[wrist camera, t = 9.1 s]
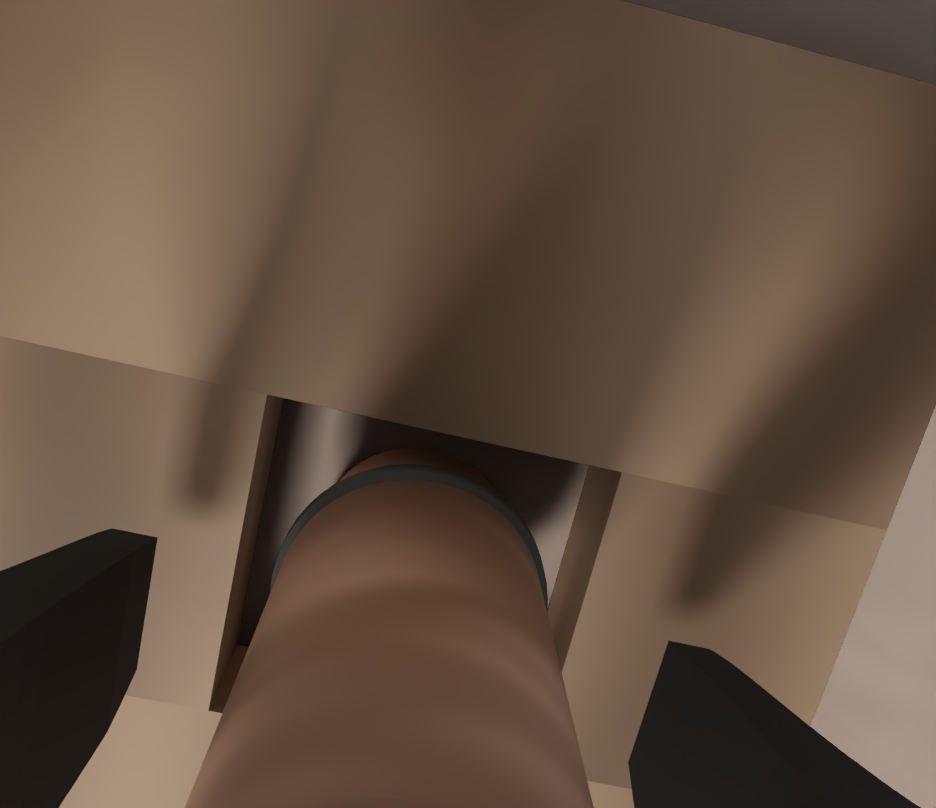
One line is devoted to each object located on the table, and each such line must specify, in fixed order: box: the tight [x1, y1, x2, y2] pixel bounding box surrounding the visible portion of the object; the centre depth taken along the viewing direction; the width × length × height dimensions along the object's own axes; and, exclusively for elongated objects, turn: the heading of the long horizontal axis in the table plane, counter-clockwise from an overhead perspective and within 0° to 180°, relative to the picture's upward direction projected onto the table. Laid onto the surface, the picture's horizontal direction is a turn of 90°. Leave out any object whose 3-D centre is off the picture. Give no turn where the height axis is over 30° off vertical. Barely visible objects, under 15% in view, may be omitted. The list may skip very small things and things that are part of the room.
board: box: [0, 0, 936, 808], centre depth 14 cm, size 14×18×2 cm
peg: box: [185, 448, 594, 808], centre depth 11 cm, size 4×4×9 cm
